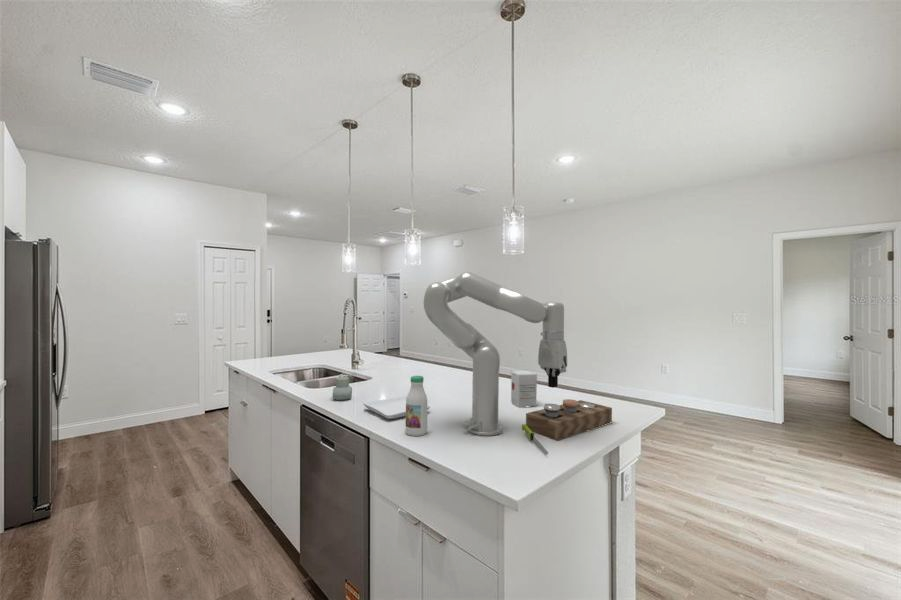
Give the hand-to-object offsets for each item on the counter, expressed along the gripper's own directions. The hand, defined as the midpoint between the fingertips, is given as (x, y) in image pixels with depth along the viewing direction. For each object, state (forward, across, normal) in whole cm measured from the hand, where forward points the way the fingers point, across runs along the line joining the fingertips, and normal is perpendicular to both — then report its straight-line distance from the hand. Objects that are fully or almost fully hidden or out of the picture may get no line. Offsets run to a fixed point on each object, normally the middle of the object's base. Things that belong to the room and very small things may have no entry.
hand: (552, 386), depth 140 cm
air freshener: (+16, -87, -45) cm, 100 cm away
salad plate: (+17, -54, -34) cm, 66 cm away
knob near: (+13, 0, 0) cm, 13 cm away
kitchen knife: (+16, +5, -15) cm, 23 cm away
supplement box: (+17, -31, +19) cm, 40 cm away
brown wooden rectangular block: (+16, 0, +11) cm, 20 cm away
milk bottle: (+16, -27, -41) cm, 52 cm away
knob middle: (+13, 0, +11) cm, 17 cm away
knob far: (+16, 0, +22) cm, 27 cm away
